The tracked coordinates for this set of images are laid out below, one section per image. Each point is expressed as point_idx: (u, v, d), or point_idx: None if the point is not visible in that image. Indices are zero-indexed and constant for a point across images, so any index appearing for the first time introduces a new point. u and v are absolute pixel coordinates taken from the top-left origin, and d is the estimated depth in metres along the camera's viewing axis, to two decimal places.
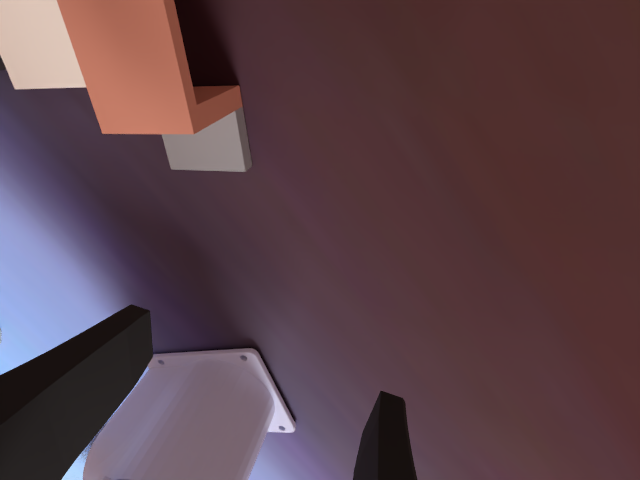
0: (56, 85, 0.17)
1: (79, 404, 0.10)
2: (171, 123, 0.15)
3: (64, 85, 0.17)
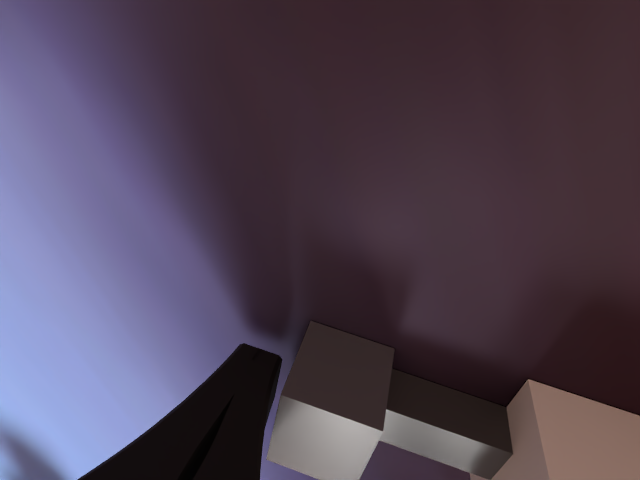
0: None
1: None
2: None
3: None
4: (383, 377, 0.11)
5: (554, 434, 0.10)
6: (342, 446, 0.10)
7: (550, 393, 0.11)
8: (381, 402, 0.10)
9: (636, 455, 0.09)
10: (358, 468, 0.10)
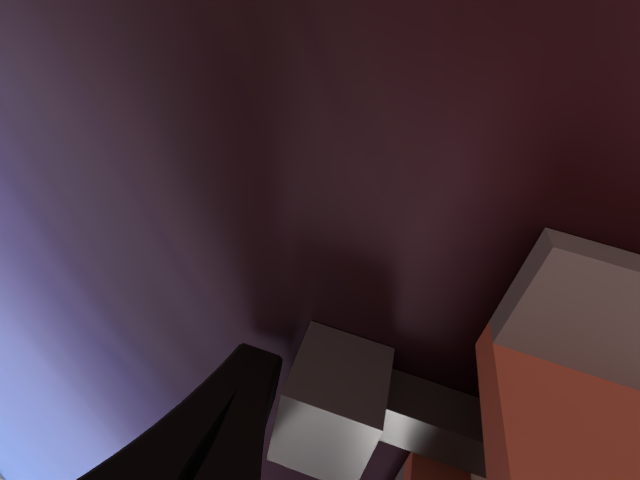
0: None
1: None
2: None
3: None
4: (383, 377, 0.11)
5: None
6: (342, 446, 0.10)
7: None
8: (381, 402, 0.10)
9: None
10: (358, 468, 0.10)
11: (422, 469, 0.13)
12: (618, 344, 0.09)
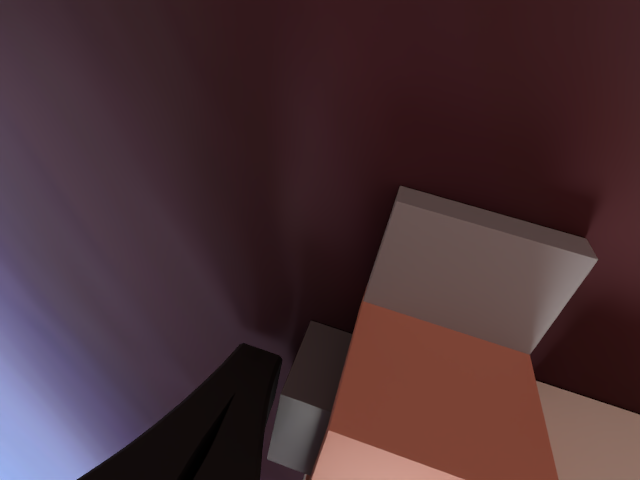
0: None
1: None
2: None
3: None
4: None
5: (555, 433, 0.09)
6: None
7: (551, 393, 0.10)
8: None
9: (637, 454, 0.09)
10: None
11: None
12: (471, 298, 0.09)
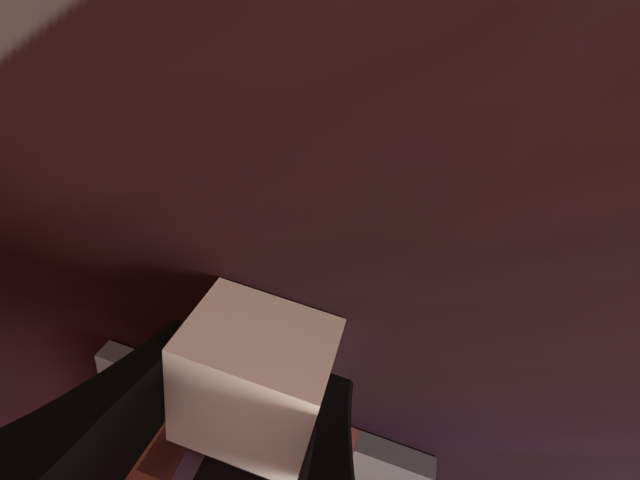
0: (303, 445, 0.10)
1: (132, 424, 0.10)
2: None
3: (306, 436, 0.10)
4: None
5: None
6: None
7: None
8: None
9: None
10: None
11: None
12: None
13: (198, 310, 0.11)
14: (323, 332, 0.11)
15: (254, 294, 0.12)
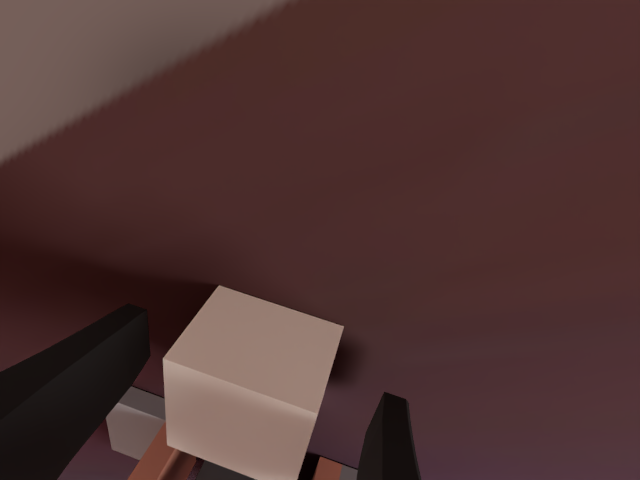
0: (301, 451, 0.10)
1: (75, 403, 0.10)
2: None
3: (304, 443, 0.10)
4: None
5: None
6: None
7: None
8: (198, 473, 0.15)
9: None
10: None
11: None
12: (143, 436, 0.17)
13: (198, 318, 0.11)
14: (321, 340, 0.11)
15: (253, 302, 0.12)
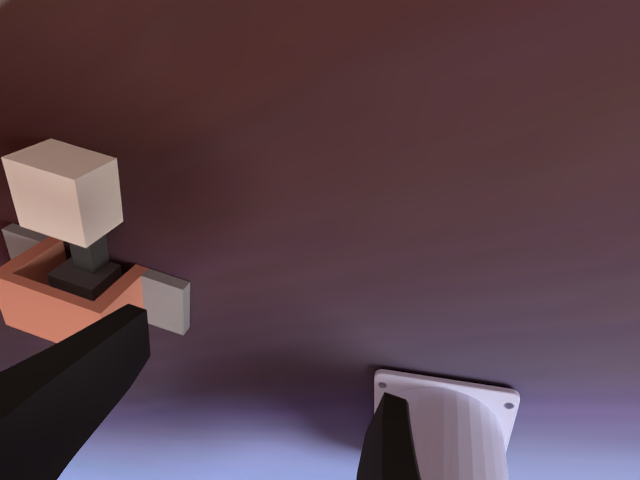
0: (77, 210, 0.20)
1: (75, 403, 0.10)
2: None
3: (76, 203, 0.20)
4: None
5: None
6: (65, 289, 0.24)
7: None
8: None
9: None
10: (73, 285, 0.24)
11: None
12: None
13: (30, 147, 0.21)
14: (98, 160, 0.21)
15: (68, 145, 0.22)
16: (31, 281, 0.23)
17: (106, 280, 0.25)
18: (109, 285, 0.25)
